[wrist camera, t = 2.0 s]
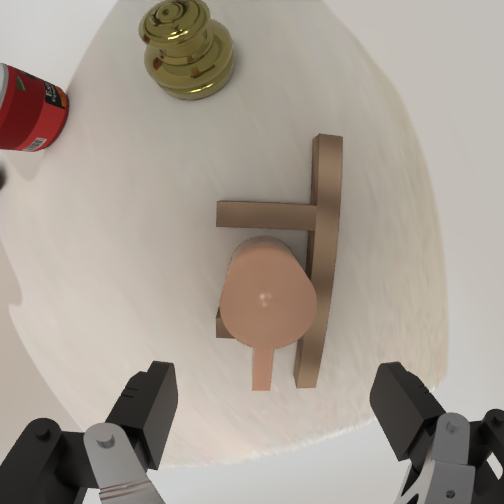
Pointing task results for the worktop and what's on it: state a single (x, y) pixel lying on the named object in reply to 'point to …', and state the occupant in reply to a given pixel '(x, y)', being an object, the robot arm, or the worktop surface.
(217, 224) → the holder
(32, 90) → the canned food
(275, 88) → the worktop surface
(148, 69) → the brass doorknob
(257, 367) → the tan paddle shape
